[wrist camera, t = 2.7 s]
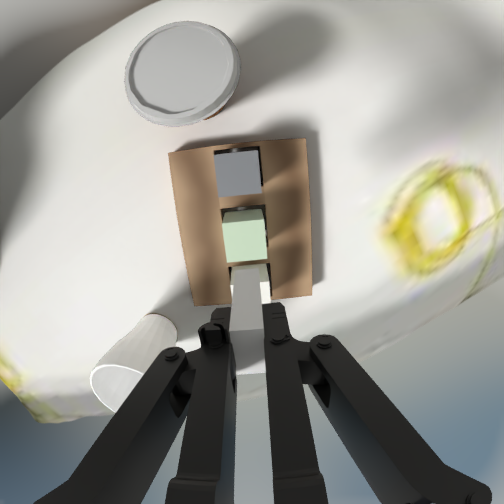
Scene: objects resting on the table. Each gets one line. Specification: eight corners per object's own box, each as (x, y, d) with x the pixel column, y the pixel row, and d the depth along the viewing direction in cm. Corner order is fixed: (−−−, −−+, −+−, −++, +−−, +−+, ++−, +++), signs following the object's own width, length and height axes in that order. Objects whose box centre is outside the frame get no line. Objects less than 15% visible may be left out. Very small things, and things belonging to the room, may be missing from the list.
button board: (196, 298, 37) (194, 306, 35) (172, 152, 30) (168, 152, 28) (308, 288, 37) (312, 295, 35) (302, 138, 30) (305, 138, 28)
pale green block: (229, 246, 33) (226, 262, 28) (225, 212, 31) (221, 223, 26) (264, 242, 32) (267, 258, 28) (261, 208, 31) (264, 219, 26)
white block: (236, 295, 35) (234, 317, 30) (232, 265, 33) (230, 285, 29) (268, 292, 35) (271, 314, 30) (265, 262, 33) (269, 281, 29)
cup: (112, 319, 38) (74, 379, 25) (159, 287, 36) (124, 350, 24) (157, 365, 41) (136, 429, 29) (206, 340, 39) (194, 411, 27)
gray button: (222, 190, 30) (218, 197, 26) (218, 154, 29) (213, 154, 24) (259, 186, 30) (261, 193, 26) (255, 150, 29) (257, 150, 24)
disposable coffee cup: (146, 91, 27) (100, 67, 16) (212, 45, 26) (197, -2, 15) (189, 150, 30) (159, 150, 19) (258, 104, 29) (266, 77, 17)
